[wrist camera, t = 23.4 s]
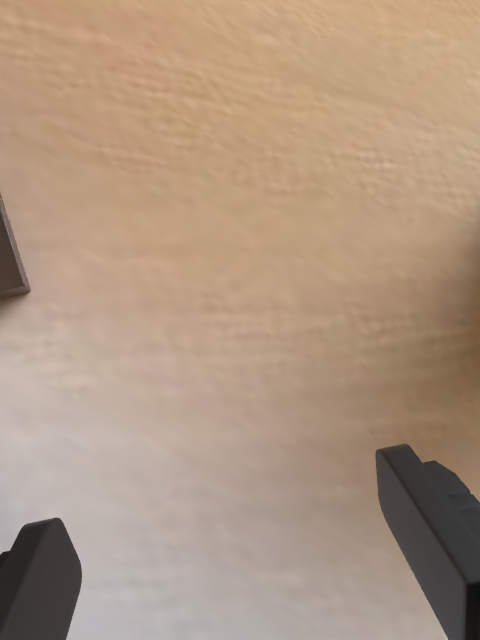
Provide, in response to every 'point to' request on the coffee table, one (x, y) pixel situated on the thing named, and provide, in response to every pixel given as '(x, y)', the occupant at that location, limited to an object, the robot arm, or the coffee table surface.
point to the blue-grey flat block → (10, 261)
